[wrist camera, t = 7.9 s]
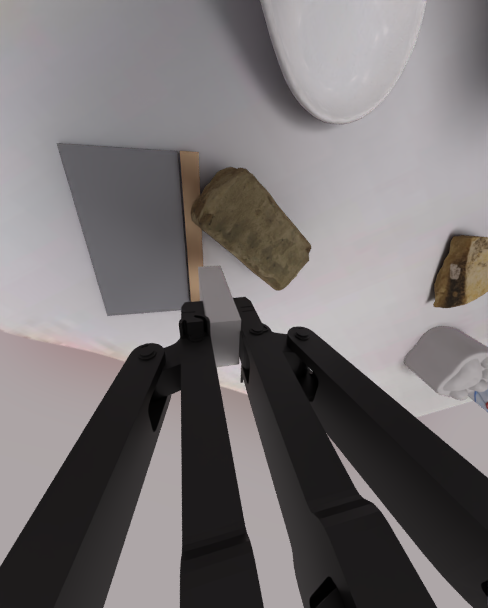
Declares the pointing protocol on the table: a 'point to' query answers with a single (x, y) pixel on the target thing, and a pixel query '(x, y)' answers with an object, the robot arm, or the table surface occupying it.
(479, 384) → the grey paw print block
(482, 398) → the light bulb box
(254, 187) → the stone block
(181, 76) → the table surface
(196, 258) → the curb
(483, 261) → the rock
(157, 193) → the bench scraper
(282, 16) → the spoon rest
